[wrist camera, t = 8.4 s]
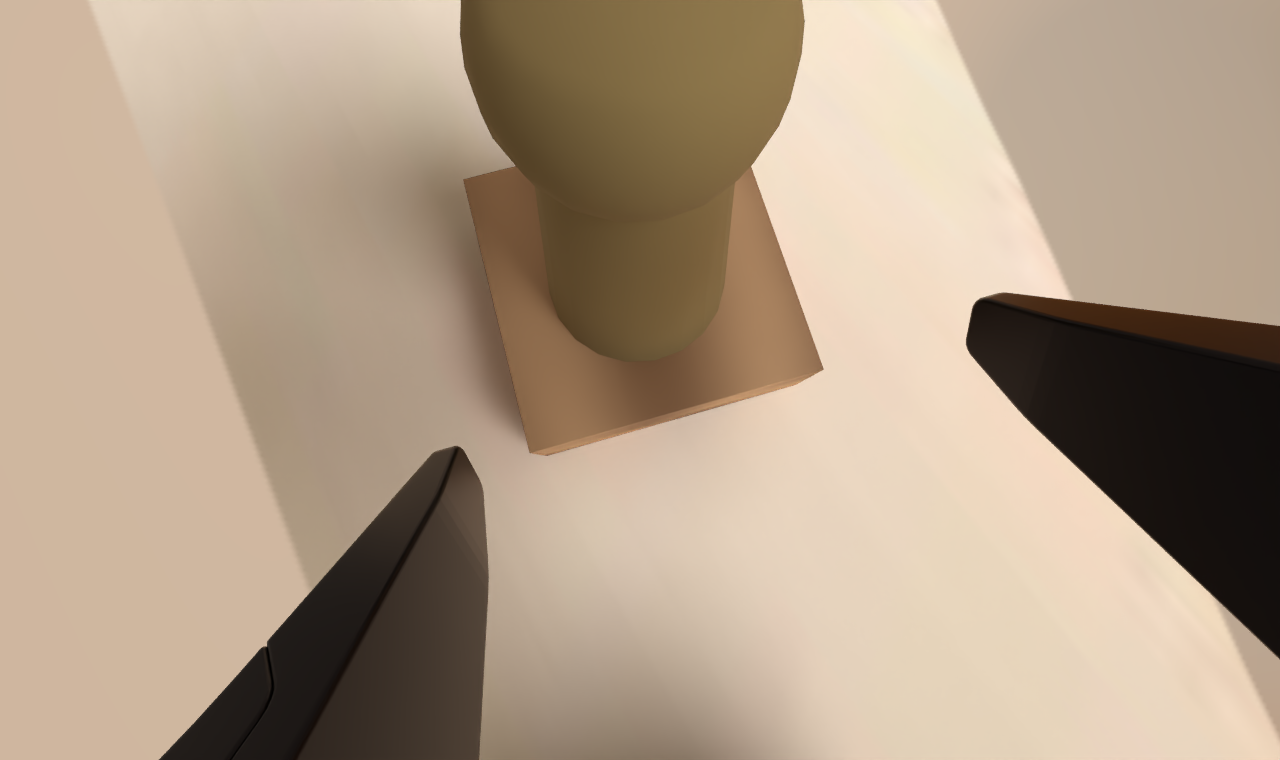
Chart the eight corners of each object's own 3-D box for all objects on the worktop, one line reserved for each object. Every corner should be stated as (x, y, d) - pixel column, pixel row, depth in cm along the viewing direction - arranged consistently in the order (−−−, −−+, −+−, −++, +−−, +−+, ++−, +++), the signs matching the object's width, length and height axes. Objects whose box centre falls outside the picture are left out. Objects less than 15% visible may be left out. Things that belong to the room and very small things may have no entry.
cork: (682, 391, 16) (766, 234, 5) (517, 318, 17) (293, 39, 6) (751, 235, 17) (938, -161, 6) (594, 170, 18) (523, -302, 7)
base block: (718, 161, 21) (731, 111, 18) (795, 384, 19) (823, 369, 16) (488, 221, 21) (463, 179, 18) (546, 455, 19) (529, 452, 16)
